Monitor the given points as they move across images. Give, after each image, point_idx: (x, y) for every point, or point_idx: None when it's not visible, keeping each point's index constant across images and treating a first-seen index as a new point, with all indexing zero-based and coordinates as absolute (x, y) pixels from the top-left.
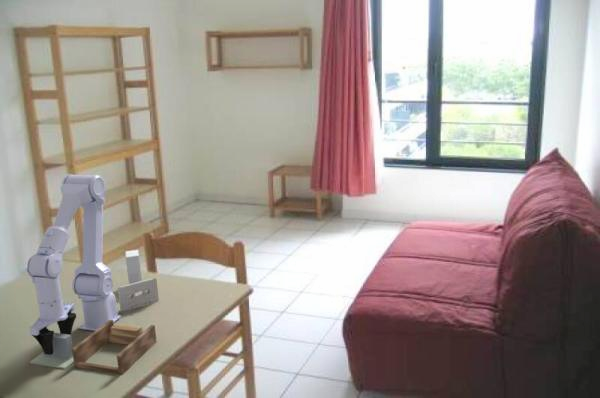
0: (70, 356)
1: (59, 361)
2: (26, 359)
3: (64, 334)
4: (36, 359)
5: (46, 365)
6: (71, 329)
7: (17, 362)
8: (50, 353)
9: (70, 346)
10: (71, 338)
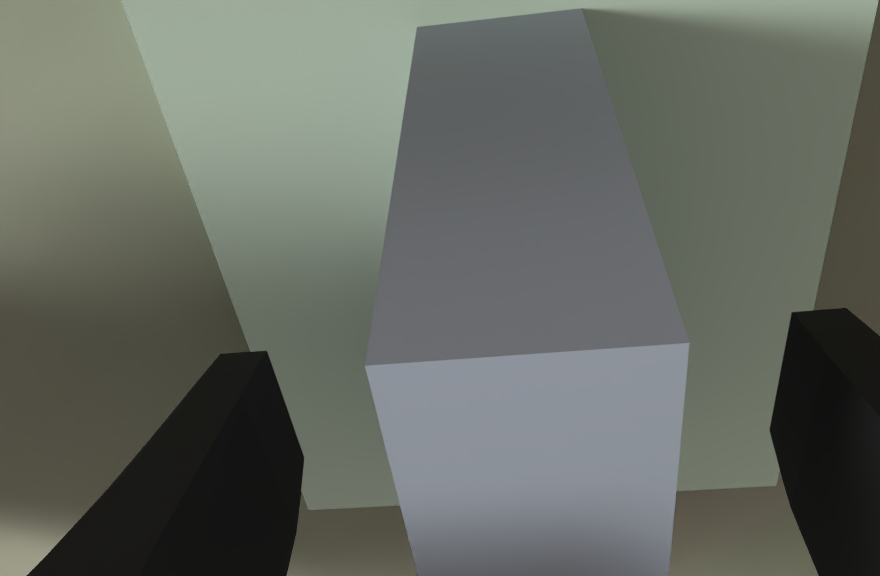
0: (529, 30)
1: (690, 135)
2: (685, 541)
3: (435, 535)
4: (699, 459)
5: (814, 254)
6: (75, 550)
7: (766, 571)
8: (867, 338)
9: (485, 138)
10: (383, 267)
